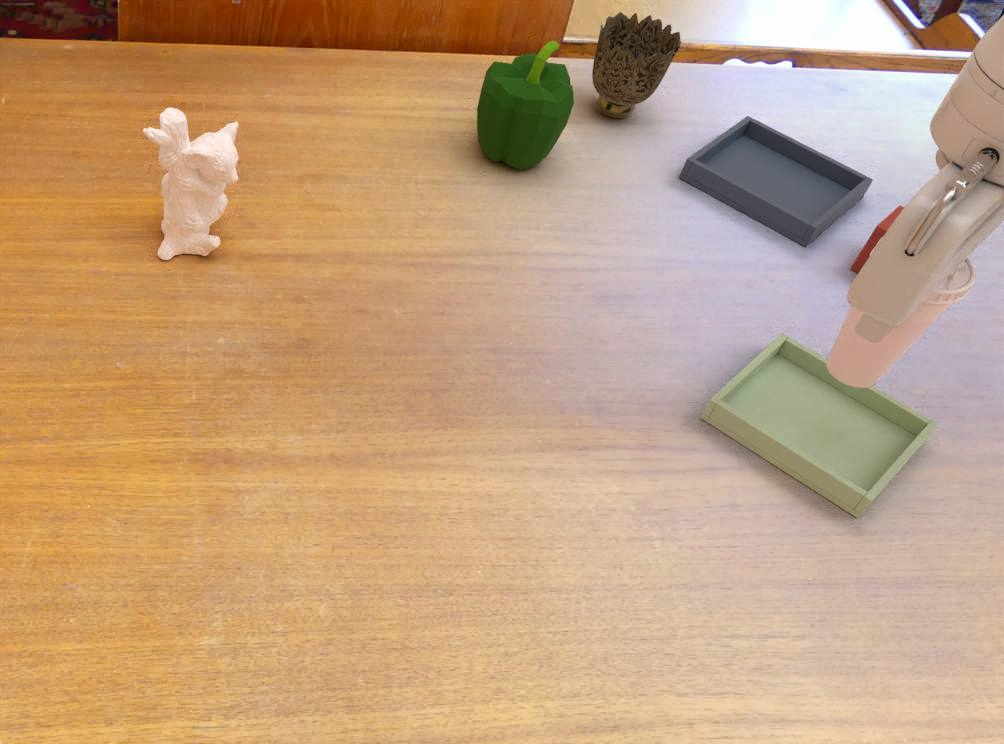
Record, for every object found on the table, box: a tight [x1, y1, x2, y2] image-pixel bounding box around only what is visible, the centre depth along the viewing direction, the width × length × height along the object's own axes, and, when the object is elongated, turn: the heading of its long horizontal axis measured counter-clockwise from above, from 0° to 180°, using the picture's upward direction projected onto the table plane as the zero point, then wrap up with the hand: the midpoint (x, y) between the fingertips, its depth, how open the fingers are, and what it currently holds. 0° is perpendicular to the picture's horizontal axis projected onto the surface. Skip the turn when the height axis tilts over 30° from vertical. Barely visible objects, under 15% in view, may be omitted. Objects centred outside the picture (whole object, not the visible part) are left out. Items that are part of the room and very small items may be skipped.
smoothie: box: [826, 237, 977, 388], centre depth 74 cm, size 6×6×14 cm
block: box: [850, 205, 905, 274], centre depth 95 cm, size 4×4×4 cm
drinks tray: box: [699, 332, 939, 519], centre depth 84 cm, size 13×11×2 cm
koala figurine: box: [142, 107, 240, 261], centre depth 88 cm, size 8×7×12 cm
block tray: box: [678, 115, 874, 248], centre depth 103 cm, size 13×11×2 cm
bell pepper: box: [476, 40, 575, 170], centre depth 100 cm, size 8×8×10 cm
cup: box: [591, 11, 682, 119], centre depth 106 cm, size 8×7×8 cm
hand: (895, 308), depth 75 cm, fingers closed on smoothie, 6 cm apart
